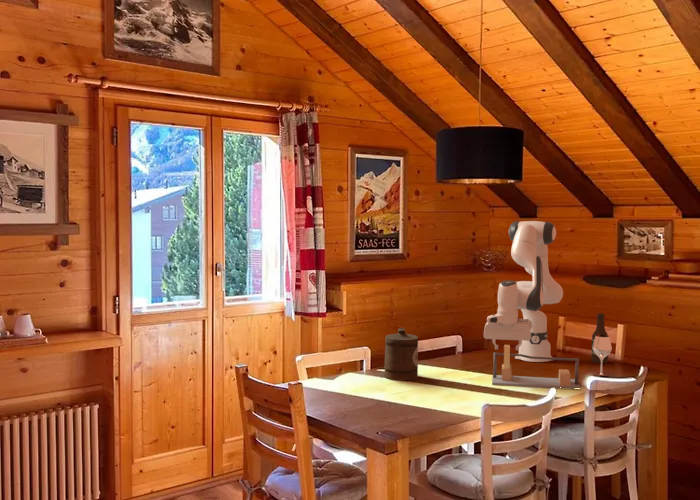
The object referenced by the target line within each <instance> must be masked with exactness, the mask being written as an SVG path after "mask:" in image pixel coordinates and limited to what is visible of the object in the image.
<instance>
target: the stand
mask: <svg viewBox="0 0 700 500" xmlns="http://www.w3.org/2000/svg"><path fill="white" fill-rule="evenodd" d="M497 353H498V352H493V358H492V359H493V362H492V363H493V368H492V369H493V370H492V371H493V372H492V373H493V374H492V376H491V377H492V380H491V384H492V385H491V386H506V387H507V386H508V387H527V388H541V389H542V388H546V389H552V388H551V387H555V388H554V389H559V388H560V387H561V388H580V389H581V386H580V383H579V376H580V375H579V373H580V369H579V366H580V359H579V358H578V357H577V358H575V359H576V361H574V362H575V365H574V370H575V371H574V378H571V373H570V370H569V369H558V377H555V378H554V377H541V376H539V377H538V376H524V375H522V376H521V375H512V364H510V369H504V364H501V374H498V375H497V361H498V360H497V359H498V355H497Z"/></svg>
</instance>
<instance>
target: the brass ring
mask: <svg viewBox="0 0 700 500" xmlns="http://www.w3.org/2000/svg"><path fill="white" fill-rule="evenodd" d="M503 353H504V355H503V365H504V369H510V365H511V362H510V359H511V358H510V357H511V356H510V354H511V346H510V344H504V345H503Z"/></svg>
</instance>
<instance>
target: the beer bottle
mask: <svg viewBox="0 0 700 500" xmlns="http://www.w3.org/2000/svg"><path fill="white" fill-rule="evenodd" d="M605 316H606V314H605V313H603V312H602V313H601V312H599V313H597V314H596V317H597V318H596V327H595V330H594V331H593V333H592V335H591V336H592V337H591V351H590V353H591V354H590V355H591V356H590V357H591V358H590V359H591V363H594V364H599V363H601V360H600V358H599V357H598V356H597V355H596V354H595V353H594V351H593V348H592V347H593V343H594V339H595V336H596V335H607V336H609V334H608V332H607V331H606V326H605V324H606V323H605ZM607 362H608V363H609V355H608V356H606V357H605V358H604V359H603V363H605V364H607Z"/></svg>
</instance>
